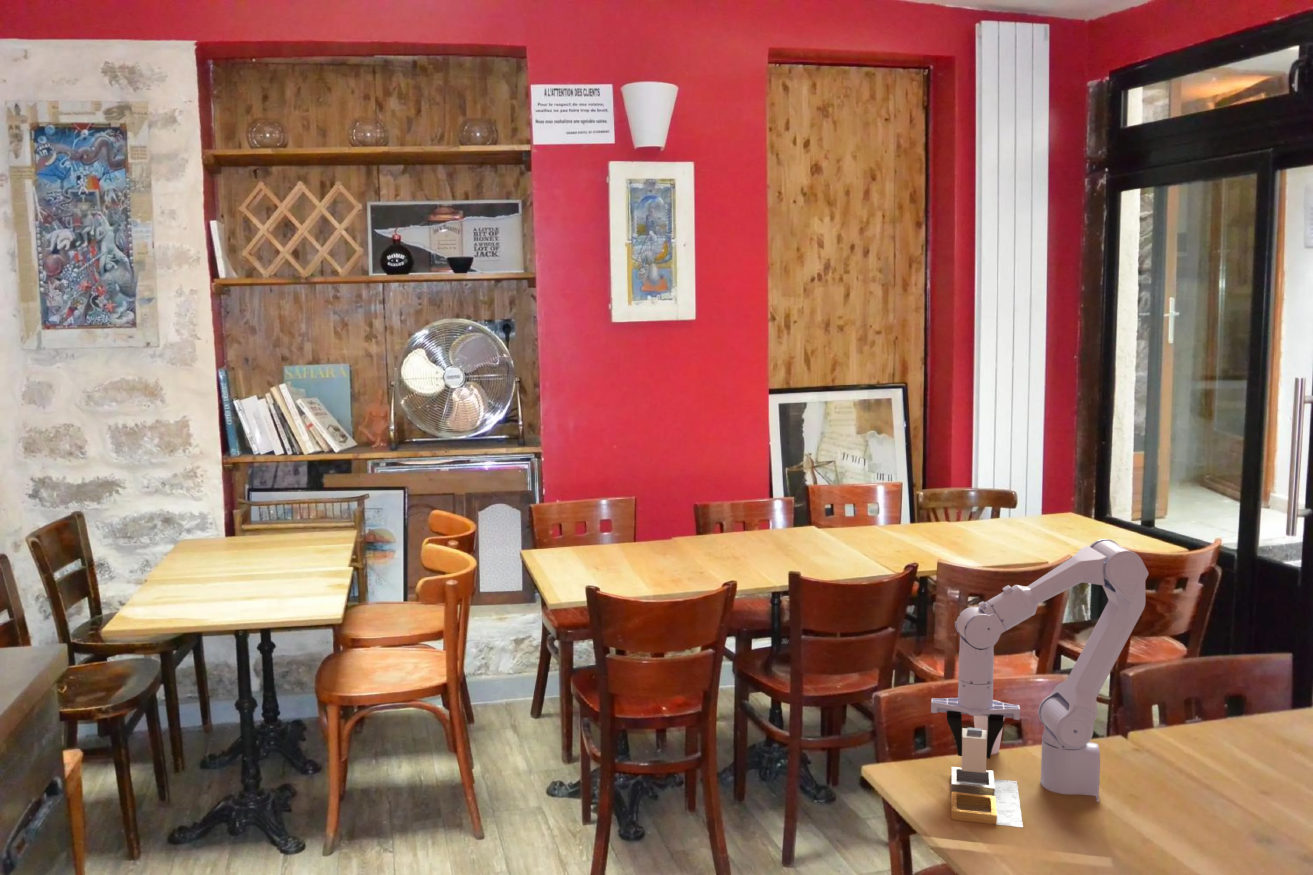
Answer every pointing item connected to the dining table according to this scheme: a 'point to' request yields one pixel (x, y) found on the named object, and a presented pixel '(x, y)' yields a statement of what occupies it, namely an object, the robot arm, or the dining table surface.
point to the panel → (984, 799)
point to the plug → (974, 750)
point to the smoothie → (983, 724)
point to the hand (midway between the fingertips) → (973, 754)
